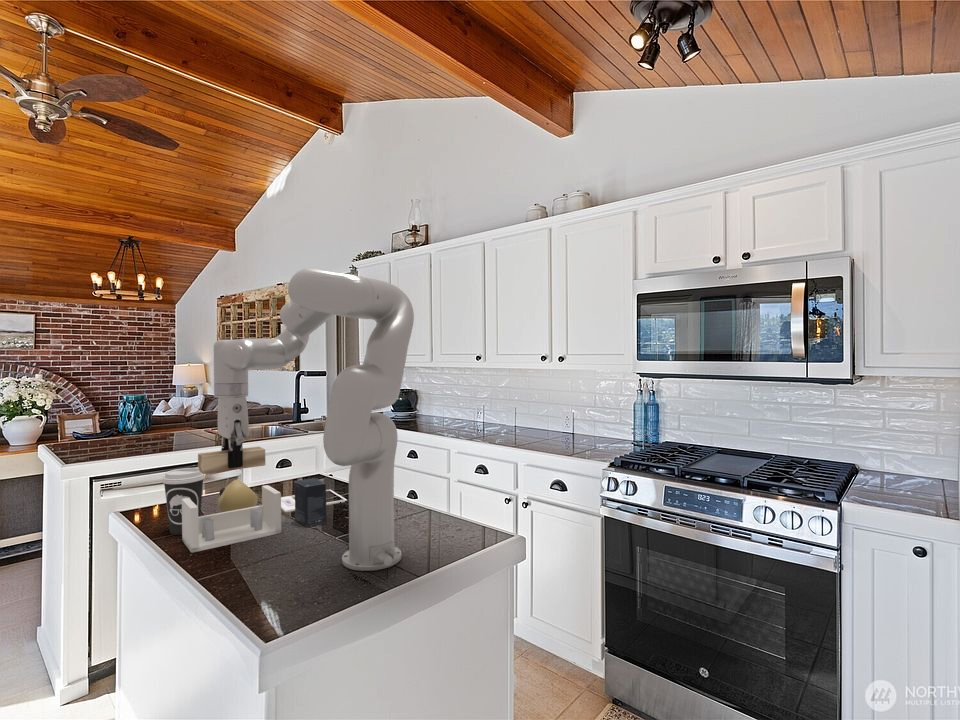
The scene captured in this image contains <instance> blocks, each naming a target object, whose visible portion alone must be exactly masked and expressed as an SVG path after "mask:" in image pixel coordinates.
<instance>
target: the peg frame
mask: <svg viewBox="0 0 960 720" xmlns="http://www.w3.org/2000/svg"><path fill="white" fill-rule="evenodd" d="M281 497H282V492H280V491H278V490H277V489H275V488H273V487H272V486H270V485H268V484H267V485H261V504H260V505H256V506H255V507H249V508H244V509H238V510H233V511H228V512H222V513H220V512H218V513H212V514H206V515H200V517H198V507H197V506H196V505H195V504H194V503H193V502H192V501H191V500H190V499H189V498H185V499H182V534H181V535H182V536H181V537H182V539H181V541H182V542H183V543H184V545H185V546H186V548H187V549H188V551H189V552H190V553H192V554H193V553H196V552H201V551H206V550H211V549H214V548H219V547H223V546H229V545H233V544H238V543H243V542H248V541H251V540H252V541H253V540H257V539H260V538H265V537H269V536H273V535H279V534H282V509H281Z"/></svg>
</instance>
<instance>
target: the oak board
mask: <svg viewBox="0 0 960 720" xmlns="http://www.w3.org/2000/svg"><path fill="white" fill-rule="evenodd" d="M228 451H229V450H225V451H221V450H218V451H209V452H200V453H199V452H198V453H197V468H198V471H200V472H201V473H202V474H204V475H206V474H212V473H221V472H227V471H228V472H229V471H234V470H235V471H236V470H242V469H243V470H244V469H251V468H257V467H264V466H266V449H265V448H263V447H261V446H253V447H243V466H242V467H238V468H228Z"/></svg>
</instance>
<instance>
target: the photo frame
mask: <svg viewBox="0 0 960 720" xmlns="http://www.w3.org/2000/svg"><path fill="white" fill-rule="evenodd" d="M328 492H331V493H333V494H334V495H336V496H337V497H339V498H341V499H340V500H334V501H329V502H328V501H327V502H326V506H328V505H329V506H330V505H334V504H340V502H341V503H346V502H345V501H347V502H348V499H346V498H345V497H344V496H342V495H340V494H338V493H337V492H335V491H334V490H332V489H326V493H328ZM281 511H283V512H284V513H289V512H295V494H293V495H288V496H281Z"/></svg>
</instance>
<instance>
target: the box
mask: <svg viewBox="0 0 960 720" xmlns="http://www.w3.org/2000/svg"><path fill="white" fill-rule="evenodd" d="M326 490H327V483H326V482H323V481H321V480H319V479H316V478H306V479H301V480H295V481H294V495H295V497H294V499H295V511H294V519H295V521H296V522H298V523H300V524H302V525H303V526H304V527H307V528H308V527H311V526H318V525H323V524H326V522H327V505H326V503H327V492H326Z"/></svg>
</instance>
